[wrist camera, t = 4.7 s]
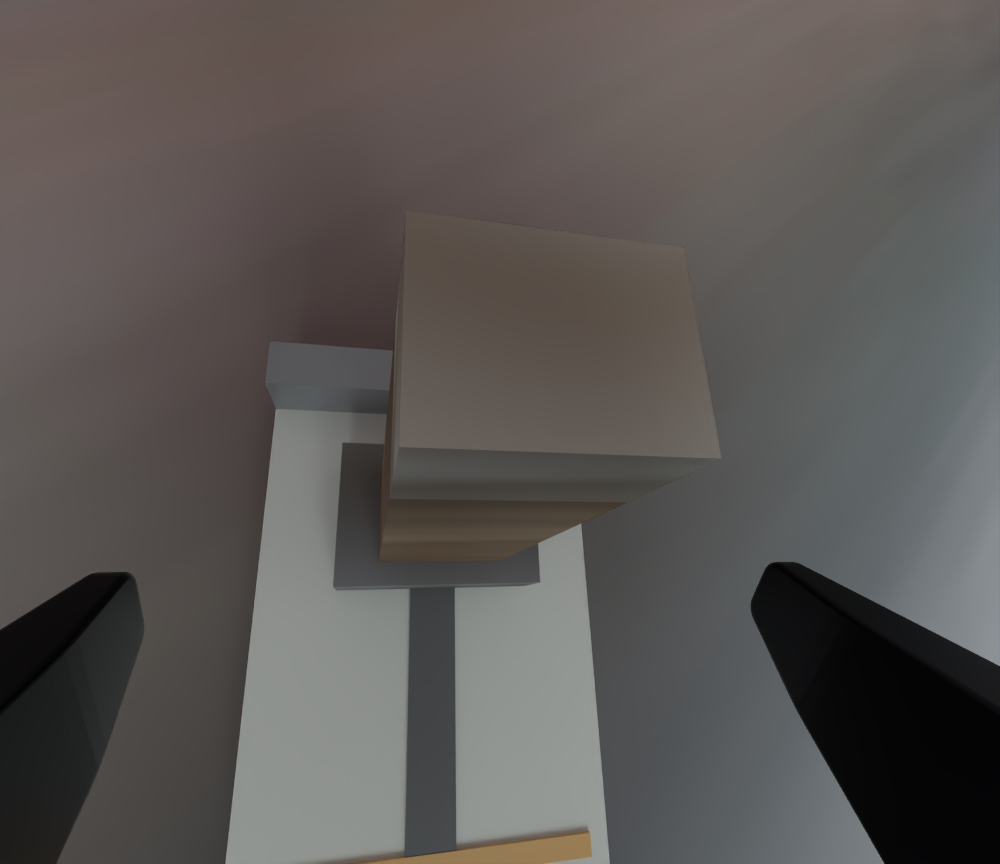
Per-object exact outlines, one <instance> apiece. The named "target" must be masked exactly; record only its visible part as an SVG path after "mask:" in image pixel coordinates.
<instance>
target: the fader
mask: <svg viewBox="0 0 1000 864" xmlns="http://www.w3.org/2000/svg"><path fill="white" fill-rule="evenodd" d="M720 459H722V458H721V452H720V447H719V441H718V435H717V430H716V424H715V418H714V413H713V407H712V402H711V396H710V390H709V385H708V379H707V373H706V368H705V362H704V356H703V351H702V345H701V340H700V334H699V328H698V323H697V317H696V311H695V306H694V300H693V294H692V289H691V283H690V277H689V272H688V266H687V261H686V255H685V249H684V248H683V247H676V246H668V245H661V244H654V243H646V242H639V241H632V240H624V239H617V238H609V237H602V236H595V235H587V234H580V233H572V232H565V231H558V230H550V229H543V228H536V227H528V226H521V225H513V224H506V223H499V222H491V221H484V220H477V219H469V218H462V217H454V216H447V215H440V214H432V213H425V212H417V211H410V210H406V215H405V226H404V236H403V247H402V258H401V269H400V279H399V290H398V301H397V311H396V322H395V333H394V344H393V354H392V365H391V376H390V386H389V397H388V408H387V419H386V429H385V440H384V444H368V443H342V457H341V472H340V487H339V502H338V518H337V533H336V548H335V563H334V579H333V587H334V588H335V589H336V590H375V589H419V588H462V587H506V586H527V585H531V584H535V583H540V569H539V551H538V543H540V542H542V541H544V540H546V539H549V538H551V537H553V536H555V535H557V534H559V533H562V532H564V531H566V530H568V529H570V528H572V527H575V526H577V525H579V524H581V523H583V522H585V521H588V520H590V519H592V518H594V517H596V516H598V515H601V514H603V513H605V512H607V511H609V510H611V509H614V508H616V507H618V506H620V505H622V504H624V503H627V502H629V501H631V500H633V499H635V498H638V497H640V496H642V495H644V494H646V493H648V492H651V491H653V490H655V489H657V488H659V487H661V486H664V485H666V484H668V483H670V482H672V481H674V480H677V479H679V478H681V477H683V476H685V475H687V474H690V473H692V472H694V471H696V470H698V469H700V468H703V467H705V466H707V465H709V464H711V463H713V462H716V461H718V460H720Z"/></svg>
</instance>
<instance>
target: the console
mask: <svg viewBox="0 0 1000 864" xmlns="http://www.w3.org/2000/svg"><path fill="white" fill-rule="evenodd" d="M392 354H393V350H381V349H367V348H354V347H341V346H328V345H315V344H302V343H289V342H276V341H270V344H269V352H268V360H267V369H266V377H265V385H266V387H267V389H268V392H269V394H270V396H271V399H272V401H273V403H274V406H275V408H276V412H275V421H274V430H273V439H272V448H271V457H270V466H269V475H268V484H267V493H266V502H265V511H264V520H263V529H262V538H261V547H260V556H259V565H258V574H257V583H256V593H255V602H254V611H253V620H252V629H251V638H250V647H249V656H248V665H247V674H246V683H245V692H244V701H243V710H242V719H241V728H240V737H239V746H238V755H237V764H236V773H235V782H234V791H233V800H232V809H231V818H230V827H229V836H228V845H227V854H226V863H225V864H610V861H609V849H608V838H607V826H606V814H605V802H604V790H603V778H602V766H601V754H600V742H599V730H598V719H597V707H596V695H595V683H594V671H593V659H592V647H591V635H590V623H589V611H588V600H587V588H586V576H585V564H584V552H583V540H582V528H581V524H579V525H577V526H575V527H572V528H570V529H568V530H566V531H564V532H562V533H559V534H557V535H555V536H553V537H551V538H549V539H546V540H544V541H542V542H540V543H538V551H539V569H540V583H535V584H531V585H527V586H506V587H462V588H419V589H375V590H336V589H335V588H334V587H333V579H334V563H335V548H336V533H337V518H338V502H339V487H340V472H341V457H342V443H368V444H384V440H385V429H386V419H387V408H388V397H389V386H390V376H391V365H392Z"/></svg>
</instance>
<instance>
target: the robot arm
mask: <svg viewBox="0 0 1000 864" xmlns="http://www.w3.org/2000/svg"><path fill="white" fill-rule="evenodd" d="M751 613H752V616H753V619H754V621H755V623H756V625H757V627H758V630H759V632H760V634H761V636H762V638H763V640H764V642H765V645H766V647H767V649H768V651H769V653H770V655H771V657H772V660H773V662H774V664H775V666H776V668H777V670H778V672H779V675H780V677H781V679H782V681H783V683H784V685H785V687H786V689H787V692H788V694H789V696H790V698H791V700H792V702H793V704H794V706H795V708H796V710H797V712H798V713H799V715H800V717H801V719H802V721H803V723H804V724H805V726H806V728H807V730H808V731H809V733H810V735H811V737H812V738H813V740H814V742H815V744H816V745H817V747H818V749H819V751H820V752H821V754H822V756H823V757H824V759H825V761H826V763H827V764H828V766H829V768H830V770H831V771H832V773H833V775H834V777H835V778H836V780H837V782H838V784H839V785H840V787H841V789H842V791H843V792H844V794H845V796H846V798H847V799H848V801H849V803H850V804H851V806H852V808H853V810H854V811H855V813H856V815H857V817H858V818H859V820H860V822H861V824H862V825H863V827H864V829H865V831H866V832H867V834H868V836H869V838H870V839H871V841H872V843H873V845H874V846H875V848H876V850H877V851H878V853H879V855H880V857H881V858H882V860H883V862H884V864H1000V666H998V665H996V664H995V663H993V662H991V661H989V660H987V659H985V658H983V657H981V656H979V655H977V654H975V653H973V652H971V651H969V650H967V649H965V648H963V647H961V646H959V645H957V644H955V643H954V642H952V641H950V640H948V639H946V638H944V637H942V636H940V635H938V634H936V633H934V632H932V631H930V630H928V629H926V628H924V627H922V626H920V625H918V624H916V623H914V622H912V621H911V620H909V619H907V618H905V617H903V616H901V615H899V614H897V613H895V612H893V611H891V610H889V609H887V608H885V607H883V606H881V605H879V604H877V603H875V602H873V601H871V600H870V599H868V598H866V597H864V596H862V595H860V594H858V593H856V592H854V591H852V590H850V589H848V588H846V587H844V586H842V585H840V584H838V583H836V582H834V581H832V580H830V579H828V578H827V577H825V576H823V575H821V574H819V573H817V572H815V571H813V570H811V569H809V568H807V567H805V566H803V565H801V564H799V563H796V562H773V563H770V564H769V565H768V566H767V567H766V569H765V570H764V573H763V575H762V577H761V579H760V582H759V584H758V586H757V588H756V591H755V593H754V595H753V598H752V600H751ZM143 634H144V619H143V614H142V609H141V604H140V599H139V593H138V588H137V583H136V580H135V578H134V576H133V575H132V574H130V573H128V572H98V573H93V574H90V575H88V576H86V577H84V578H83V579H81V580H79V581H78V582H76V583H75V584H73V585H71V586H70V587H68V588H67V589H65V590H63V591H62V592H60V593H59V594H57V595H55V596H54V597H52V598H51V599H49V600H47V601H46V602H44V603H43V604H41V605H39V606H38V607H36V608H35V609H33V610H31V611H30V612H28V613H27V614H25V615H23V616H22V617H20V618H18V619H17V620H15V621H14V622H12V623H10V624H9V625H7V626H6V627H4V628H2V629H1V630H0V864H57V862H58V860H59V857H60V855H61V853H62V851H63V849H64V846H65V844H66V842H67V840H68V838H69V835H70V833H71V831H72V829H73V827H74V824H75V822H76V820H77V818H78V816H79V813H80V811H81V809H82V807H83V805H84V802H85V800H86V798H87V796H88V794H89V791H90V789H91V787H92V784H93V782H94V779H95V777H96V775H97V772H98V770H99V767H100V765H101V762H102V759H103V756H104V753H105V751H106V748H107V745H108V742H109V739H110V736H111V733H112V730H113V727H114V724H115V721H116V718H117V715H118V712H119V709H120V706H121V703H122V700H123V697H124V694H125V691H126V688H127V685H128V682H129V679H130V676H131V673H132V670H133V667H134V664H135V661H136V658H137V655H138V652H139V649H140V646H141V643H142V639H143Z"/></svg>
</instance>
